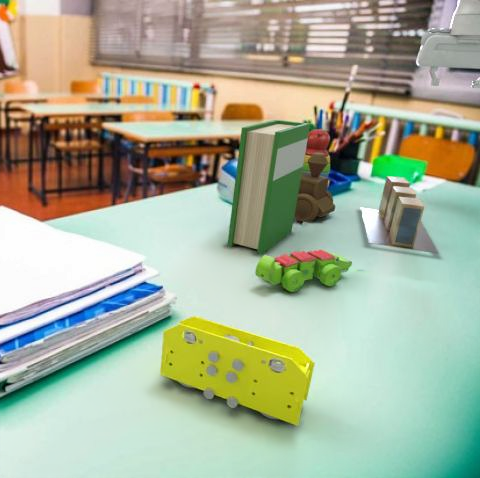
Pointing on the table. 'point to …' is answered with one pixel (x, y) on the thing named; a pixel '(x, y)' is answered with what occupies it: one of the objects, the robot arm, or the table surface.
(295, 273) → the toy crocodile
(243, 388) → the yellow toy chassis
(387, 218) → the tile
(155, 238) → the table surface
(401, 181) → the tile
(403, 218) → the tile
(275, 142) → the hardback book
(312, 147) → the stacking bear
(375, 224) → the word board
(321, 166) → the wooden toy train
